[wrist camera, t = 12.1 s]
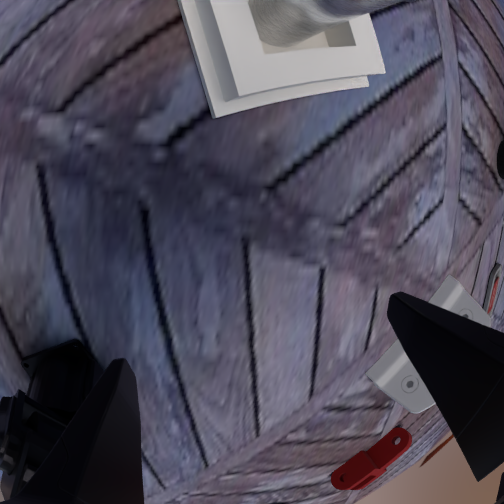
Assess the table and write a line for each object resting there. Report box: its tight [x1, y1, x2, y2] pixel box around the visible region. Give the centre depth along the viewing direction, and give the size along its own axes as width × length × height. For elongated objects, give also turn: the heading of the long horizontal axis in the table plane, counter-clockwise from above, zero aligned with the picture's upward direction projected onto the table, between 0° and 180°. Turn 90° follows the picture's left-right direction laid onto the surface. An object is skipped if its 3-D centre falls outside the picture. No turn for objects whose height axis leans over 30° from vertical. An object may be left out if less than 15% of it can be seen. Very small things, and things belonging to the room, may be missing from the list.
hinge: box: [365, 274, 491, 414], centre depth 31 cm, size 17×5×10 cm, turn 134°
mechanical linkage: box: [331, 427, 412, 490], centre depth 43 cm, size 16×7×5 cm, turn 132°
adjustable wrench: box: [483, 263, 502, 318], centre depth 43 cm, size 8×26×2 cm, turn 9°
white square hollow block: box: [177, 0, 386, 119], centre depth 15 cm, size 12×12×4 cm
